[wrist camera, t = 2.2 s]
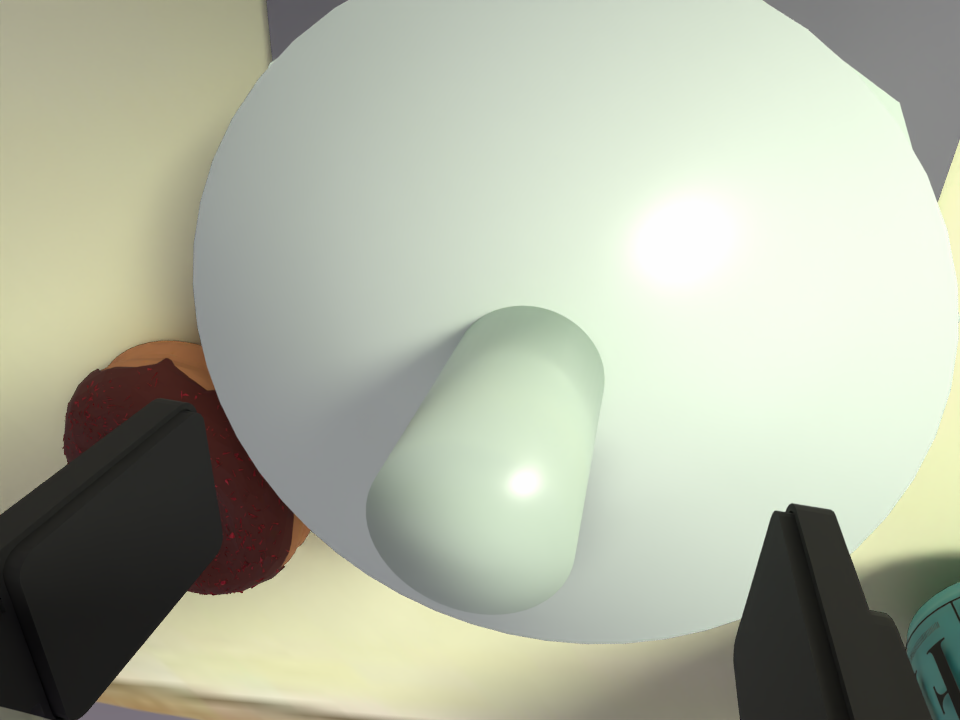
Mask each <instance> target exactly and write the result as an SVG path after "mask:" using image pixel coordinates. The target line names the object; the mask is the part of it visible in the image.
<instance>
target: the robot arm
mask: <svg viewBox="0 0 960 720" xmlns="http://www.w3.org/2000/svg"><path fill="white" fill-rule="evenodd" d="M222 540H223V531H222V525H221V519H220V513H219V507H218V501H217V495H216V489H215V483H214V477H213V471H212V465H211V459H210V452H209V446H208V440H207V434H206V428H205V422H204V419H203V417H202V415H201V414H199V413H197V411H196V408H195V407H194V406H193V405H192V404H190V403H187V402H181V401H175V400H169V399H163V398H158V399H155V400H153V401H151V402H150V403H149V404H147V405H146V406H145V407H143V408H142V409H141V410H139V411H138V412H137V413H135V414H134V415H133V416H131V417H130V418H129V419H127V420H126V421H125V422H123V423H122V424H121V425H119V426H118V427H117V428H115V429H114V430H113V431H111V432H110V433H109V434H107V435H106V436H105V437H103V438H102V439H101V440H99V441H98V442H97V443H95V444H94V445H93V446H91V447H90V448H89V449H87V450H86V451H85V452H83V453H82V454H81V455H79V456H78V457H77V458H75V459H74V460H73V461H71V462H70V463H69V464H68V465H66V466H65V467H64V468H62V469H61V470H60V471H58V472H57V473H56V474H54V475H53V476H52V477H50V478H49V479H48V480H46V481H45V482H44V483H42V484H41V485H40V486H38V487H37V488H36V489H34V490H33V491H32V492H30V493H29V494H28V495H26V496H25V497H24V498H22V499H21V500H20V501H18V502H17V503H16V504H14V505H13V506H12V507H10V508H9V509H8V510H6V511H5V512H4V513H2V514H1V515H0V720H77V719H79V718H81V717H82V716H83V715H84V714H85V713H86V712H87V711H88V710H89V709H90V708H91V707H92V705H93V704H94V703H95V702H96V701H97V699H98V698H99V697H100V696H101V695H102V693H103V692H104V691H105V690H106V688H107V687H108V686H109V685H110V684H111V682H112V681H113V680H114V679H115V678H116V676H117V675H118V674H119V673H120V672H121V670H122V669H123V668H124V667H125V665H126V664H127V663H128V662H129V661H130V659H131V658H132V657H133V656H134V655H135V653H136V652H137V651H138V650H139V649H140V647H141V646H142V645H143V644H144V643H145V641H146V640H147V639H148V638H149V636H150V635H151V634H152V633H153V632H154V630H155V629H156V628H157V627H158V626H159V624H160V623H161V622H162V621H163V620H164V618H165V617H166V616H167V615H168V613H169V612H170V611H171V610H172V609H173V607H174V606H175V605H176V604H177V603H178V601H179V600H180V599H181V598H182V597H183V595H184V594H185V593H186V592H187V590H188V589H189V588H190V587H191V586H192V584H193V583H194V582H195V581H196V580H197V578H198V577H199V576H200V575H201V574H202V572H203V571H204V570H205V569H206V567H207V566H208V565H209V564H210V563H211V561H212V560H213V559H214V558H215V557H216V555H217V554H218V552H219V550H220V548H221V545H222ZM734 671H735V680H736V689H737V698H738V706H739V715H740V720H933V719H932V717H931V714H930V712H929V709H928V706H927V704H926V701H925V699H924V696H923V694H922V691H921V689H920V686H919V683H918V681H917V678H916V676H915V673H914V671H913V668H912V665H911V663H910V660H909V658H908V655H907V653H906V650H905V647H904V645H903V642H902V640H901V637H900V635H899V632H898V629H897V627H896V625H895V623H894V622H893V620H892V618H891V617H890V616H889V615H887V614H886V613H882V612H877V611H871V610H869V607H868V605H867V602H866V599H865V596H864V593H863V591H862V588H861V585H860V582H859V579H858V576H857V574H856V571H855V568H854V565H853V562H852V560H851V557H850V554H849V551H848V548H847V545H846V543H845V540H844V537H843V534H842V531H841V529H840V526H839V523H838V520H837V517H836V515H835V513H834V511H832V510H831V509H825V508H818V507H812V506H806V505H800V504H794V503H791V504H789V506H788V507H787V509H786V511H785V512H782V511H774V512H773V513H772V516H771V519H770V522H769V525H768V529H767V532H766V536H765V539H764V543H763V546H762V549H761V553H760V556H759V560H758V563H757V567H756V570H755V573H754V577H753V580H752V584H751V587H750V591H749V594H748V597H747V601H746V604H745V608H744V611H743V615H742V618H741V621H740V625H739V628H738V632H737V635H736V639H735V644H734Z"/></svg>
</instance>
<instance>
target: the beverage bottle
mask: <svg viewBox="0 0 960 720" xmlns="http://www.w3.org/2000/svg"><path fill="white" fill-rule="evenodd" d="M906 648H907V655H908V658H909V660H910V663H911V665H912V668H913V671H914V673H915V676H916V678H917V681H918V683H919V686H920V689H921V691H922V694H923V696H924V699H925V701H926V704H927V706H928V709H929V712H930V714H931V717H932V719H933V720H960V582H958V583H956V584H954V585H952V586H950V587H947V588H946V589H944V590H942V591H941V592H939V593H937V594H936V595H935V596H933V597H932V598H931V599H930V600H928V601H927V602H926V603H925V604H924V605H923V606H922V607H921V608H920V609H919V610H918V612H917V613H916V614H915V616H914V617H913V619H912V621H911V623H910V626H909V629H908V634H907V644H906ZM906 648H905V650H906Z"/></svg>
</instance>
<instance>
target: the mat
mask: <svg viewBox="0 0 960 720" xmlns="http://www.w3.org/2000/svg"><path fill="white" fill-rule="evenodd" d="M266 1H267V12H268V22H269V32H270V42H271V52H272V61H274V60H275V59H277V58H278V57H279V56H280V55H281V54H282V53H283V52H284V51H285V49H286V48H287V47H288V46H289V45H290V44H291V43H292V42H293V41H294V40H295V39H296V38H298V37H299V36H300V35H301V34H303V33H304V32H305V31H306V30H308V29H309V28H310V27H311V26H313V25H314V24H315V23H316V22H318V21H319V20H320V19H321V18H323V17H324V16H325V15H326V14H328V13H329V12H330V11H331V10H333V9H334V8H335V7H337V6H339V5H341V4H342V3H344V2H346V1H348V0H266ZM763 1H765V2H766V3H767V4H769V5H770V6H772V7H773V8H775V9H776V10H778V11H780V12H781V13H783V14H784V15H786V16H787V17H789V18H791V19H792V20H794V21H795V22H797V23H798V24H800V25H802V26H803V27H805V28H806V29H808V30H809V31H810V32H811V33H812V34H813V35H815V36H816V37H817V38H818V39H819V40H820V41H821V42H823V43H824V44H825V45H826V46H827V47H828V48H829V49H830V50H832V51H833V52H834V53H835V54H836V55H837V56H838V57H839V58H841V59H842V60H843V61H845V62H846V63H847V64H849V65H850V66H851V67H852V68H854V69H855V70H856V71H858V72H859V73H860V74H862V75H863V76H864V77H866V78H867V79H868V80H870V81H871V82H872V83H874V84H875V85H876V86H878V87H879V88H880V89H882V90H883V91H884V92H886V93H887V94H888V95H890V96H891V97H892V98H894V99H895V100H896V101H898V102H899V103H900V106H901V110H902V113H903V117H904V120H905V124H906V127H907V131H908V135H909V138H910V142H911V145H912V149H913V151H914V153H915V155H916V156H917V158H918V160H919V162H920V163H921V165H922V167H923V169H924V170H925V172H926V174H927V176H928V179H929V181H930V184H931V187H932V189H933V192H934V195H935V198H936V200H937V203H938V200H939V197H940V194H941V191H942V188H943V186H944V183H945V180H946V177H947V174H948V171H949V168H950V166H951V163H952V160H953V157H954V154H955V151H956V148H957V146H958V143H959V140H960V0H763Z"/></svg>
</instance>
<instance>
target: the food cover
mask: <svg viewBox="0 0 960 720" xmlns="http://www.w3.org/2000/svg"><path fill="white" fill-rule="evenodd" d="M193 291H194V300H195V309H196V318H197V327H198V331H199V335H200V339H201V344H202V348H203V352H204V356H205V361H206V365H207V368H208V371H209V373H210V376H211V379H212V382H213V384H214V387H215V390H216V393H217V395H218V398H219V401H220V403H221V405H222V407H223V409H224V412H225V414H226V416H227V418H228V420H229V422H230V424H231V426H232V428H233V430H234V432H235V434H236V436H237V438H238V439H239V441H240V443H241V444H242V446H243V447H244V449H245V450H246V452H247V454H248V455H249V457H250V458H251V460H252V461H253V463H254V465H255V466H256V468H257V469H258V471H259V472H260V473H261V475H262V476H263V477H264V478H265V480H266V481H267V482H268V484H269V485H270V486H271V487H272V489H273V490H274V491H275V492H276V494H277V495H278V496H279V498H280V499H281V500H282V501H283V502H284V503H285V504H286V505H287V506H288V507H289V509H290V510H291V511H292V512H293V513H294V514H295V515H296V516H297V517H298V518H299V519H300V520H301V521H302V522H303V523H304V524H305V525H306V526H307V527H308V528H309V529H310V530H311V531H312V532H313V533H314V534H316V535H317V536H318V537H319V538H320V539H321V540H323V541H324V542H325V543H326V544H327V545H328V546H329V547H331V548H332V549H333V550H334V551H335V552H336V553H338V554H339V555H341V556H342V557H343V558H345V559H346V560H348V561H349V562H350V563H352V564H353V565H354V566H356V567H357V568H359V569H360V570H361V571H363V572H364V573H366V574H367V575H369V576H370V577H372V578H374V579H375V580H377V581H379V582H381V583H382V584H384V585H386V586H387V587H389V588H391V589H392V590H394V591H396V592H398V593H399V594H401V595H403V596H405V597H407V598H410V599H412V600H414V601H416V602H418V603H420V604H422V605H424V606H426V607H428V608H431V609H433V610H435V611H438V612H440V613H443V614H446V615H448V616H451V617H454V618H456V619H459V620H462V621H465V622H467V623H470V624H473V625H477V626H481V627H484V628H488V629H492V630H496V631H499V632H503V633H507V634H511V635H517V636H523V637H528V638H534V639H540V640H545V641H556V642H568V643H580V644H626V643H635V642H644V641H653V640H662V639H669V638H673V637H678V636H683V635H687V634H692V633H697V632H701V631H706V630H709V629H712V628H715V627H718V626H721V625H724V624H727V623H730V622H733V621H737V620H740V619H741V618H742V615H743V611H744V608H745V604H746V601H747V597H748V594H749V591H750V587H751V584H752V580H753V577H754V573H755V570H756V567H757V563H758V560H759V556H760V553H761V549H762V546H763V543H764V539H765V536H766V532H767V529H768V525H769V522H770V519H771V516H772V513H773V512H774V511H782V512H785V511H786V509H787V507H788V506H789V504H791V503H794V504H800V505H806V506H812V507H818V508H825V509H831V510H832V511H834V513H835V515H836V517H837V520H838V523H839V526H840V529H841V531H842V534H843V537H844V540H845V543H846V545H847V548H848V551H849V554H851V553H852V552H853V551H855V550H856V549H857V548H858V547H859V546H860V545H861V544H862V542H863V541H864V540H865V539H866V538H867V537H868V536H869V535H870V534H871V533H872V532H873V531H874V530H875V529H876V528H877V527H878V526H879V525H880V524H881V523H882V522H883V520H884V519H885V518H886V517H887V516H888V515H889V513H890V512H891V510H892V509H893V508H894V506H895V505H896V503H897V502H898V501H899V499H900V498H901V496H902V495H903V494H904V492H905V491H906V489H907V488H908V487H909V485H910V484H911V482H912V481H913V480H914V478H915V476H916V474H917V472H918V470H919V468H920V466H921V464H922V462H923V460H924V458H925V456H926V454H927V452H928V450H929V448H930V446H931V444H932V442H933V440H934V439H935V436H936V433H937V430H938V427H939V424H940V421H941V418H942V415H943V412H944V409H945V406H946V403H947V400H948V396H949V393H950V390H951V385H952V378H953V371H954V365H955V358H956V352H957V345H958V323H959V321H960V316H959V312H958V284H957V279H956V273H955V268H954V263H953V257H952V252H951V247H950V241H949V236H948V231H947V227H946V225H945V222H944V219H943V217H942V214H941V211H940V208H939V206H938V203H937V200H936V198H935V195H934V192H933V189H932V187H931V184H930V181H929V179H928V176H927V174H926V172H925V170H924V169H923V167H922V165H921V163H920V162H919V160H918V158H917V156H916V155H915V153H914V151H913V149H912V145H911V142H910V138H909V135H908V131H907V127H906V124H905V120H904V117H903V113H902V110H901V106H900V103H899V102H898V101H896V100H895V99H894V98H892V97H891V96H890V95H888V94H887V93H886V92H884V91H883V90H882V89H880V88H879V87H878V86H876V85H875V84H874V83H872V82H871V81H870V80H868V79H867V78H866V77H864V76H863V75H862V74H860V73H859V72H858V71H856V70H855V69H854V68H852V67H851V66H850V65H849V64H847V63H846V62H845V61H843V60H842V59H841V58H839V57H838V56H837V55H836V54H835V53H834V52H833V51H832V50H830V49H829V48H828V47H827V46H826V45H825V44H824V43H823V42H821V41H820V40H819V39H818V38H817V37H816V36H815V35H813V34H812V33H811V32H810V31H809V30H808V29H806V28H805V27H803V26H802V25H800V24H798V23H797V22H795V21H794V20H792V19H791V18H789V17H787V16H786V15H784V14H783V13H781V12H780V11H778V10H776V9H775V8H773V7H772V6H770V5H769V4H767V3H766V2H765V1H763V0H348V1H346V2H344V3H342V4H341V5H339V6H337V7H335V8H334V9H333V10H331V11H330V12H329V13H328V14H326V15H325V16H324V17H323V18H321V19H320V20H319V21H318V22H316V23H315V24H314V25H313V26H311V27H310V28H309V29H308V30H306V31H305V32H304V33H303V34H301V35H300V36H299V37H298V38H296V39H295V40H294V41H293V42H292V43H291V44H290V45H289V46H288V47H287V48H286V49H285V51H284V52H283V53H282V54H281V55H280V56H279V57H278V58H277V59H275V60H274V61H272V62H271V63H270V64H269V67H268V69H267V70H266V71H265V72H264V73H263V75H262V76H261V77H260V78H259V79H258V81H257V82H256V84H255V85H254V87H253V88H252V90H251V91H250V93H249V94H248V96H247V97H246V99H245V100H244V102H243V103H242V105H241V106H240V108H239V109H238V111H237V112H236V114H235V115H234V117H233V118H232V120H231V123H230V125H229V127H228V129H227V131H226V133H225V135H224V137H223V140H222V142H221V144H220V146H219V148H218V150H217V152H216V155H215V157H214V159H213V162H212V165H211V168H210V172H209V175H208V178H207V182H206V185H205V188H204V191H203V195H202V198H201V201H200V207H199V214H198V220H197V227H196V233H195V240H194V259H193Z"/></svg>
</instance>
